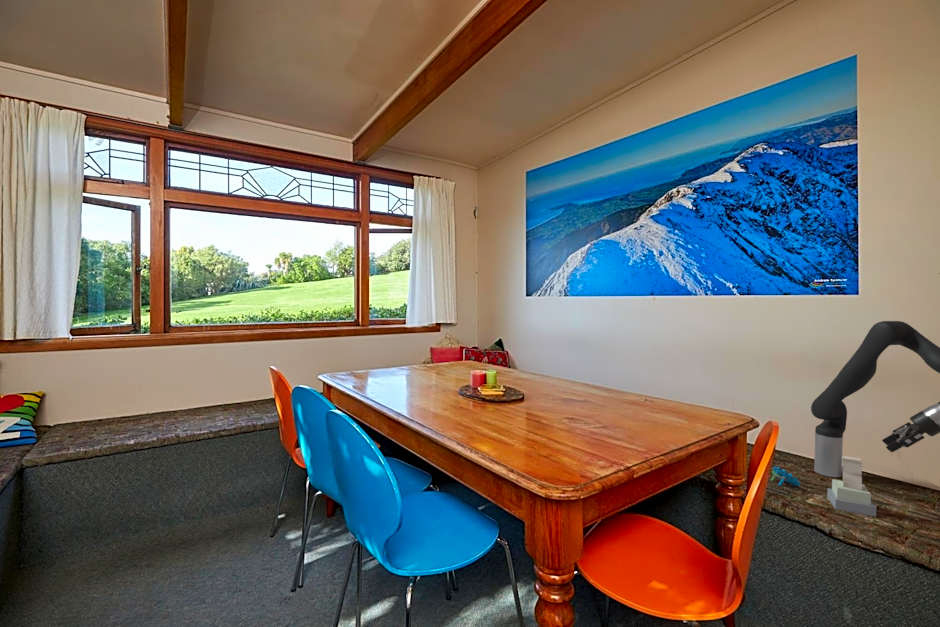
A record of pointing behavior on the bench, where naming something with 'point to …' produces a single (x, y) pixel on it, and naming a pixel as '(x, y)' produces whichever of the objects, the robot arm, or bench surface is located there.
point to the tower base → (851, 505)
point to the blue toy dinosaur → (784, 476)
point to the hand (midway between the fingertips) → (886, 446)
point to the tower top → (851, 493)
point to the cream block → (852, 473)
